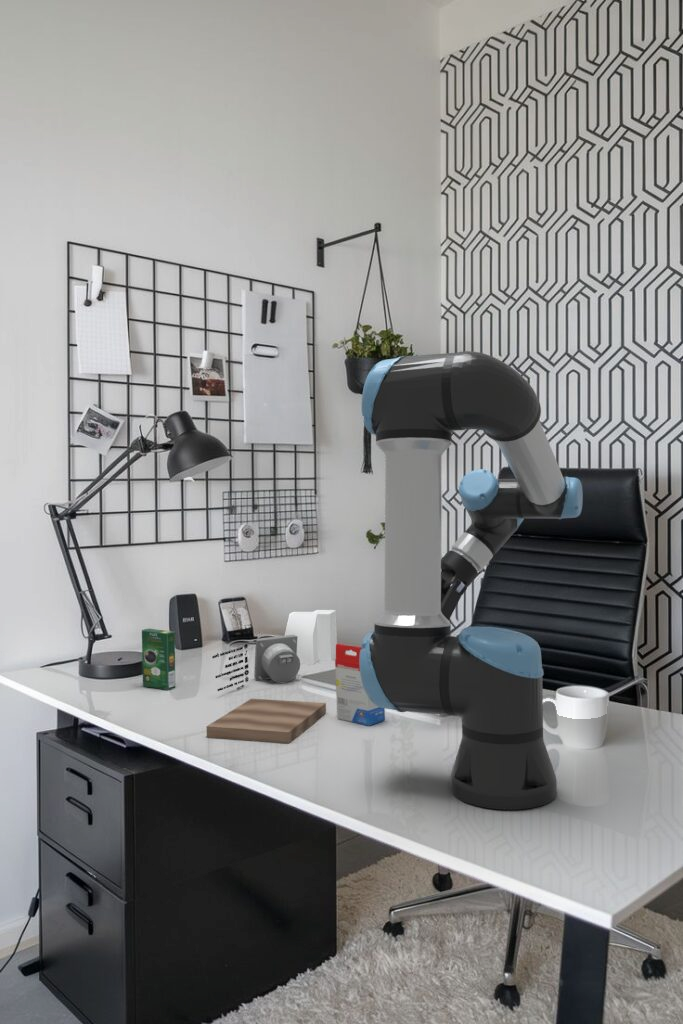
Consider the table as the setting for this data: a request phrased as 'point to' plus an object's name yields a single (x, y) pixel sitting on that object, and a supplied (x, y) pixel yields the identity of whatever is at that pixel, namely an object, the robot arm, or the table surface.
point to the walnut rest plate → (267, 720)
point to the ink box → (353, 690)
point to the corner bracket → (314, 635)
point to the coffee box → (158, 658)
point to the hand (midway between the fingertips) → (395, 642)
